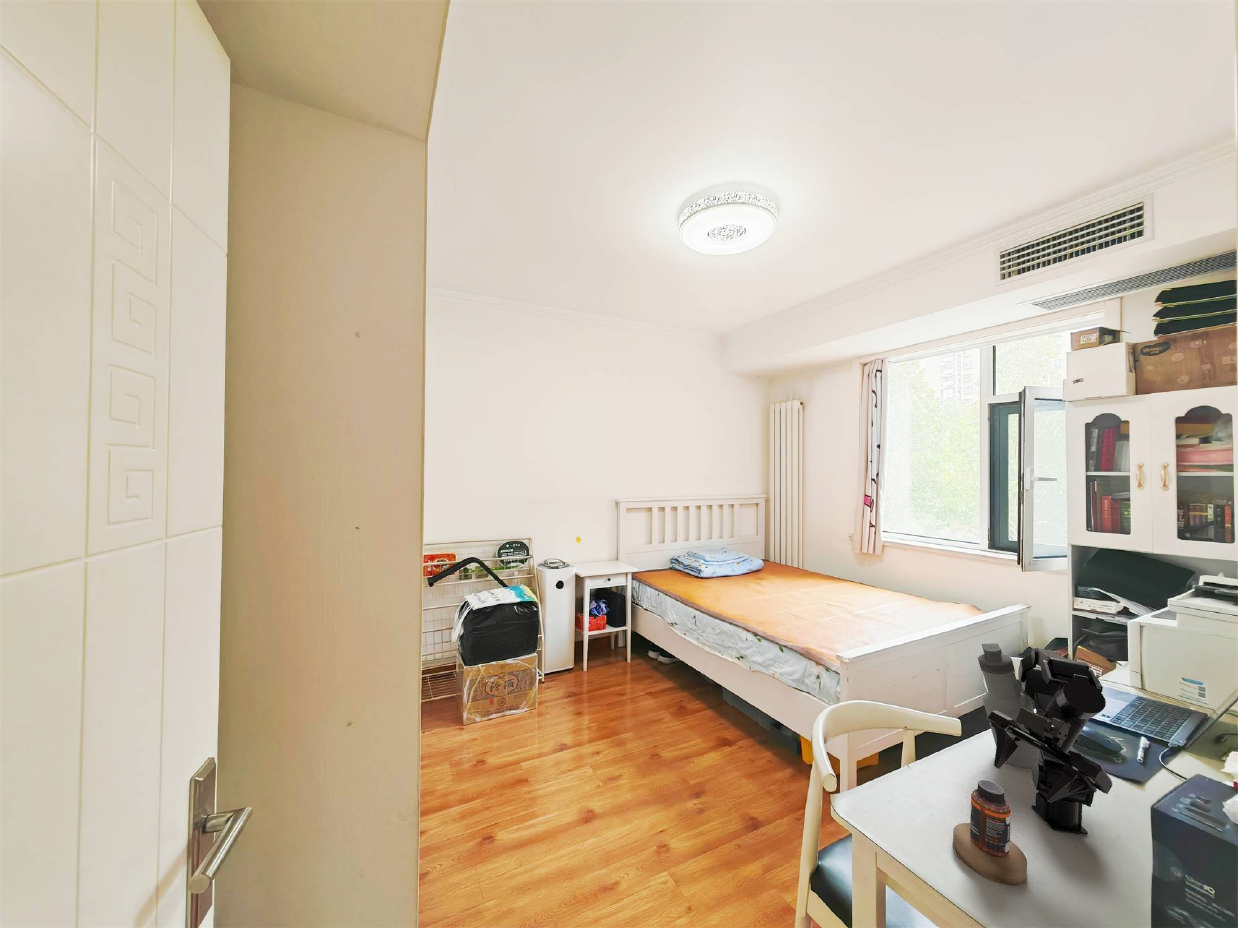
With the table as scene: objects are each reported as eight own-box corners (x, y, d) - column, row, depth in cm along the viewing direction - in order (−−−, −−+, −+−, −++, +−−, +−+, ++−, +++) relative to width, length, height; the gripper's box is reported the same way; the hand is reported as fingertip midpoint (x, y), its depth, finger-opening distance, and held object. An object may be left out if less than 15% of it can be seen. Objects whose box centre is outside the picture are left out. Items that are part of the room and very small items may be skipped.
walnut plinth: (1001, 838, 93) (1001, 826, 93) (1042, 889, 82) (1043, 875, 82) (941, 831, 95) (941, 819, 95) (974, 879, 84) (974, 866, 84)
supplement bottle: (1018, 858, 86) (1020, 797, 85) (987, 858, 85) (989, 798, 85) (991, 832, 92) (993, 775, 91) (961, 832, 91) (963, 775, 91)
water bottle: (995, 744, 124) (965, 639, 127) (1042, 748, 119) (1010, 638, 122) (1002, 767, 115) (970, 653, 118) (1053, 771, 110) (1019, 653, 113)
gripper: (994, 672, 100) (953, 730, 97) (1105, 723, 82) (1058, 795, 80) (1019, 702, 103) (979, 760, 100) (1131, 758, 85) (1087, 829, 82)
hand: (1020, 782), depth 90 cm, fingers open, 9 cm apart
